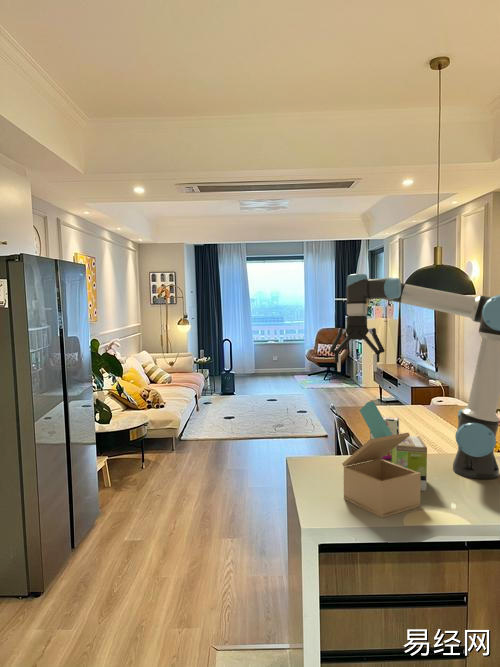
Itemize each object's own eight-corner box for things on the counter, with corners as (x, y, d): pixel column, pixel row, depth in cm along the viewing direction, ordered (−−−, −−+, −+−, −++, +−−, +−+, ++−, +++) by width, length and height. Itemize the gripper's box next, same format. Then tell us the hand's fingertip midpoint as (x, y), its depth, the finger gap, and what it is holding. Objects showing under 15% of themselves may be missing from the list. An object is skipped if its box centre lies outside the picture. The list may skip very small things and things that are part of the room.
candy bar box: (399, 457, 182) (399, 417, 182) (398, 461, 177) (398, 420, 177) (371, 454, 186) (371, 415, 186) (369, 458, 182) (369, 418, 181)
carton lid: (343, 466, 140) (326, 429, 147) (380, 458, 148) (362, 424, 155) (371, 442, 129) (351, 404, 136) (410, 435, 137) (389, 399, 144)
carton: (343, 498, 140) (343, 466, 140) (380, 488, 148) (380, 458, 148) (381, 517, 126) (381, 482, 126) (420, 506, 134) (420, 473, 134)
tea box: (427, 491, 145) (427, 446, 145) (395, 489, 147) (395, 445, 147) (419, 476, 160) (419, 435, 160) (390, 474, 162) (390, 433, 162)
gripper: (387, 315, 172) (387, 370, 173) (322, 315, 172) (322, 370, 173) (393, 314, 165) (392, 372, 165) (325, 315, 165) (325, 372, 165)
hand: (356, 371), depth 169 cm, fingers open, 13 cm apart
